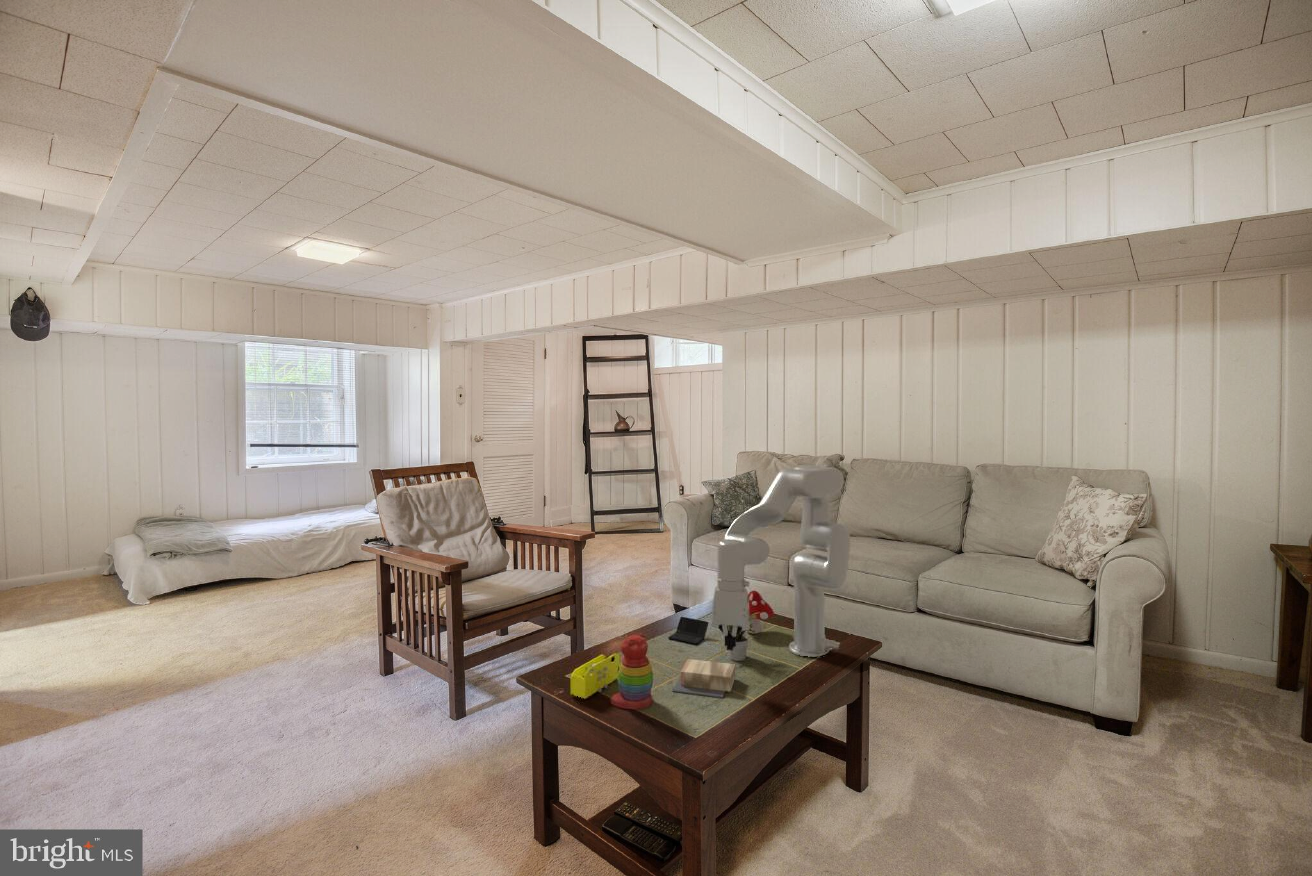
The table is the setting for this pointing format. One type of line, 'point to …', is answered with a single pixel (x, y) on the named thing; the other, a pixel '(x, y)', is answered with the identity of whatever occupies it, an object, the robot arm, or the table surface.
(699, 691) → the mat
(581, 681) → the yellow toy chassis
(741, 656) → the house plant
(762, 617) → the decorative mushroom
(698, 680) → the maple block
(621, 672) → the stacking bear
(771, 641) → the table surface
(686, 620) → the handheld gaming console
